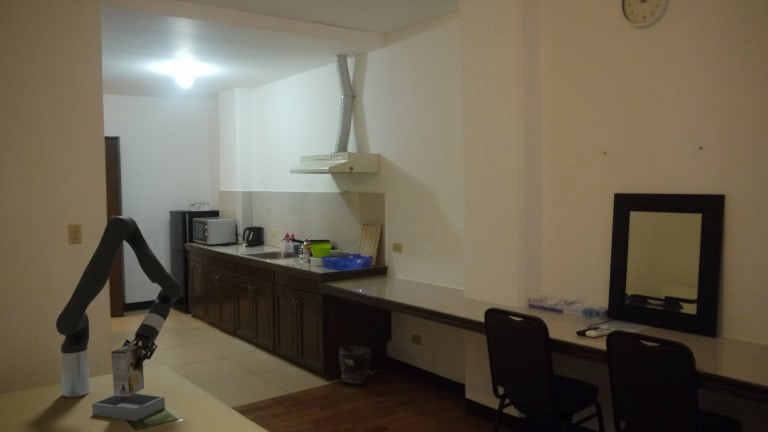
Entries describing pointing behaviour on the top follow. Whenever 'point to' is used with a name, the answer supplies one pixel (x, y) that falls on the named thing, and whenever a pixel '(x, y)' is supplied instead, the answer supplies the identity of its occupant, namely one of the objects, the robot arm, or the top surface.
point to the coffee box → (127, 371)
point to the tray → (128, 406)
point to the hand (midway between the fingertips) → (127, 367)
